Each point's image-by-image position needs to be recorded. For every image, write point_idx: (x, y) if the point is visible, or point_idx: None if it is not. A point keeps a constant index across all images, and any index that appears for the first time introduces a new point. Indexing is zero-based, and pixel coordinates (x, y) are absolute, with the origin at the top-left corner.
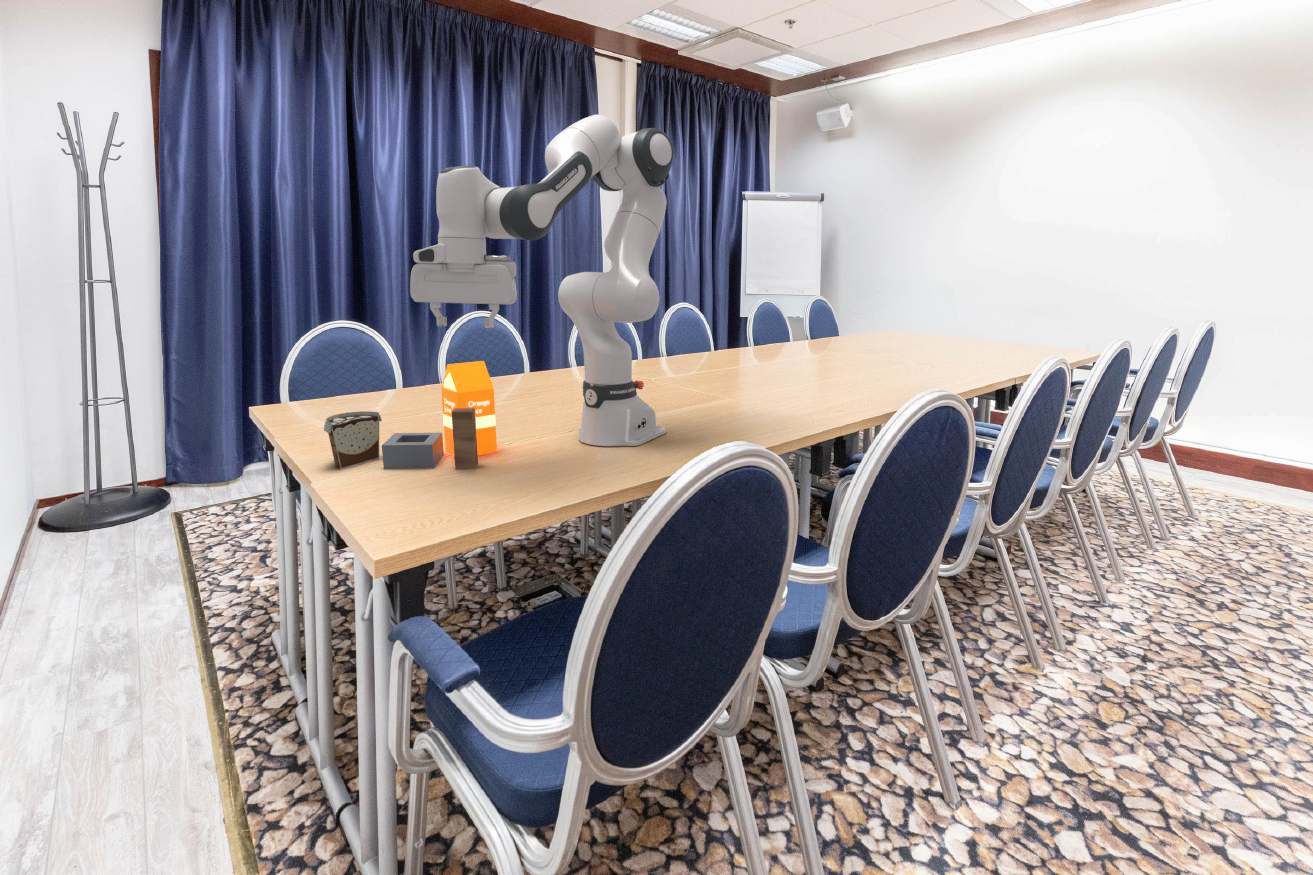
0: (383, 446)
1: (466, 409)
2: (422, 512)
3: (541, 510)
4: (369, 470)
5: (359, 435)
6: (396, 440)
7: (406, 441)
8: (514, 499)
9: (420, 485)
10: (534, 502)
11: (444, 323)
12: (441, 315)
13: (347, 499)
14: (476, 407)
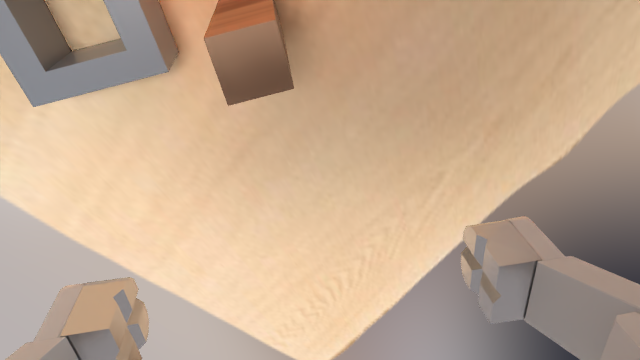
0: (39, 104)
1: (259, 57)
2: (298, 267)
3: None
4: None
5: None
6: (30, 50)
7: None
8: (423, 194)
9: (222, 166)
10: (459, 199)
11: (143, 332)
12: (58, 356)
13: (141, 250)
14: None
